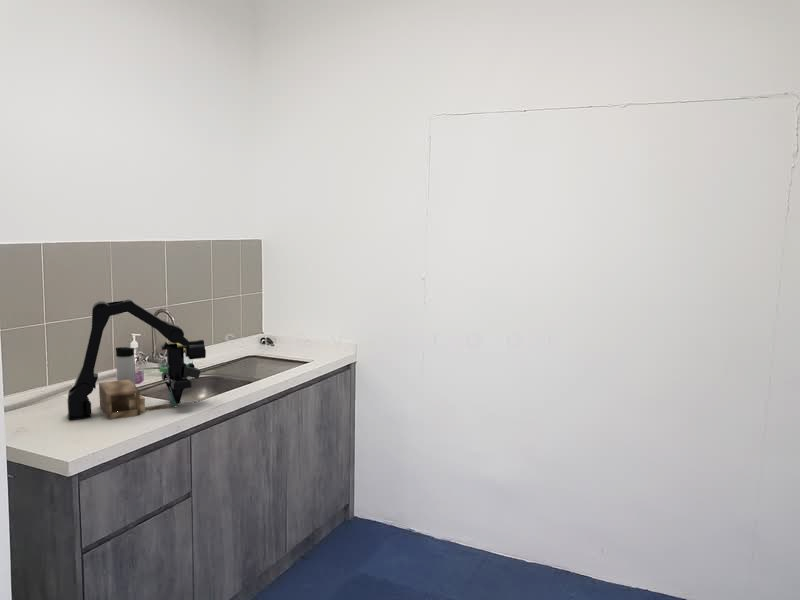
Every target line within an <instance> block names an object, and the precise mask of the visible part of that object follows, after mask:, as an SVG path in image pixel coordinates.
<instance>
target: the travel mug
mask: <svg viewBox="0 0 800 600" xmlns="http://www.w3.org/2000/svg"><path fill="white" fill-rule="evenodd" d="M115 360H116V361H115V362H116V364H115V365H116V381H120V380H128V379H129V380H130V381H131V382H132V383H133V384H134V385H135V386H136V387H137V385H136V366H135V348H134V347H131V348H130V347H129V346H127V347H126V346H125V347H124V346H122V347H121V346H120V347H119V346H118V347H115ZM135 396H136V393H135Z"/></svg>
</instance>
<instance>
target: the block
mask: <svg viewBox="0 0 800 600" xmlns="http://www.w3.org/2000/svg"><path fill="white" fill-rule="evenodd" d="M168 392H169V391H168ZM175 406H179V407H180V403H179V404H176V402H175V399H174V397H173V395H172V392H169V403H164V404H159V405H158V404H157V405H150V406H146V403H145V396H143V394H142V395H141V394H140V414H143V412H145V413H146V412H148V411H147V410H149V411H154V409H155V410H160V408H162V409H167V408H166V407H169V408H171V407H172V408H176V407H175ZM132 409H136V396H132V397H127V410H132Z"/></svg>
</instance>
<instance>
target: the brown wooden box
mask: <svg viewBox="0 0 800 600" xmlns="http://www.w3.org/2000/svg"><path fill="white" fill-rule="evenodd" d="M98 393H99V395H98V396H99V408H100V407H101V408H100V410H103V411H102V412H103V413H105V414H104V415H105V417H106V418H108V419H109V420H115V418H116V419H122V417H123V418H128V417H129V416H130V417H134V416H135V415H136V416H141V413H140V395H141V394H140V389H139V388H138V387H137V385H136V386H135V385H134V384H133V383H132V382H131V381H130V380H129V379H128V380H120V381H117V380H113V381H103V382H98ZM135 393H136V409H132V410H127V397H132V396H135ZM117 411H118V412H117ZM136 416H135V417H136ZM130 417H129V418H130ZM108 419H107V420H108Z"/></svg>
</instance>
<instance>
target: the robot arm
mask: <svg viewBox="0 0 800 600" xmlns="http://www.w3.org/2000/svg"><path fill="white" fill-rule="evenodd" d="M91 310H92V311H91V328H90V334H89V338H88V343H87V346H86V351H85V355H84V360H83V362H82V366H81V368H80V371H79V373H78V375H77V377H76V378H75V382H74V385H73V386H72V387H71V388H70V389H69V390H68V394H67V399H66V400H67V401H66V402H67V418H68V420H69V421H72V420H79V419H87V418H91V416H92V403H91V400H90V398H89V397H88V396H89V395H91V394H92V393H93V392H94V390H95V389H97V387H96V386H97V385H96V384H97V381H98V379H99V374H98V373H97V372H95V368H96V367H95V366H96V362H97V359H98V354H99V350H100V345H101V341H102V337H103V332H104V329H105V327H106V325H107V324H108V321H109V319H110V317H111V316H116V315H120V314H123V313H129V314H131V315H132V316H134V317H136V318H137V319H139V320H141V322H144V323H145V324H147V325H149V326H150V327H152V328H154V329H155V330H157V331H158V332H159V334H161V335H162V336H163V337H164V338H166V339H167V340H168V341H169V342H170V343H168V342H167V341H164V343H163V344H162V345H161V346H160V349H161V350H162V351H163V350H165V351H166V360H167V361H166V363H165V366H166V368H167V370H166V371H163V372H162V373H161V380H162V381H165V382H164V384H165V385H166V388H167V390H168V392H172V395H173V397H174V399H175V402H176V404H179V405H180V403H181V399H182V396H183V391H184V390H185V389H190V388H192V386H193V385H192V381H191V380H190V379H189V378H188V377H190V378H193V379H197V380H198V379H199V377H200V374H201V372H202V370H201V369H200V368H197V367H195V364H194V363H188V364H186V363H185V358H188V360H198V359H200V360H201V359H205V358H206V357H207V356H206V355H207V353H206V351H207V350H206V347H205V340H204V339H198V340H188V338H187V337H185V332H184V331H183V329H182V328H181V327H180V326H178V325H177V324H174V323H172V322H169V321H166V320H164V319H161V318H159V317H158V316H156V315H154V314H153V313H151V312H150V311H148V309H147V310H146V309H145V308H143V307H142V306H141V305H139V304H137V303H135V302H134V301H133V300H132V299H124V300H117V301H110V302H106V301H97V302H95V303H94V304H93V305H92V309H91ZM179 344H180V345H179ZM184 354H185V355H184Z"/></svg>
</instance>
